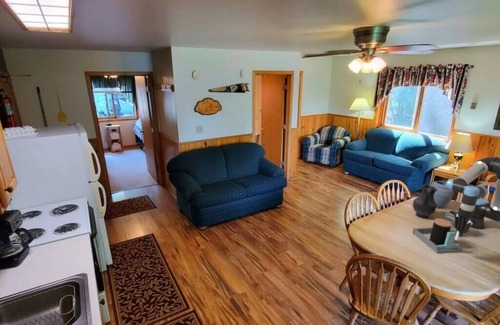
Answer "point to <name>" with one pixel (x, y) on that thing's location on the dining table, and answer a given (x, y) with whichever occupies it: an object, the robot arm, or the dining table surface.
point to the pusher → (449, 242)
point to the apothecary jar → (451, 219)
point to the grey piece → (419, 233)
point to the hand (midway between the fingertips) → (457, 239)
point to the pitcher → (425, 202)
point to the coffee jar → (440, 231)
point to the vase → (442, 194)
